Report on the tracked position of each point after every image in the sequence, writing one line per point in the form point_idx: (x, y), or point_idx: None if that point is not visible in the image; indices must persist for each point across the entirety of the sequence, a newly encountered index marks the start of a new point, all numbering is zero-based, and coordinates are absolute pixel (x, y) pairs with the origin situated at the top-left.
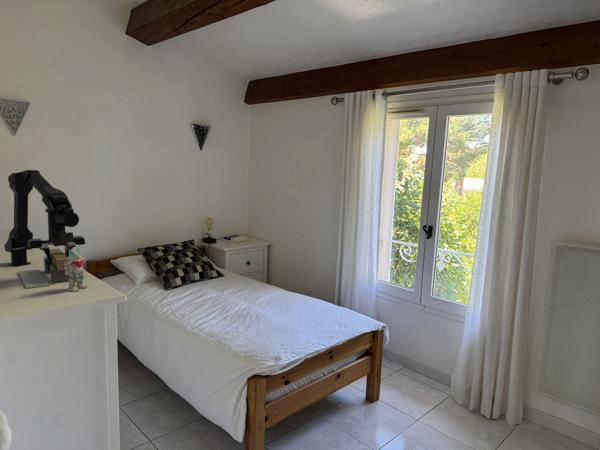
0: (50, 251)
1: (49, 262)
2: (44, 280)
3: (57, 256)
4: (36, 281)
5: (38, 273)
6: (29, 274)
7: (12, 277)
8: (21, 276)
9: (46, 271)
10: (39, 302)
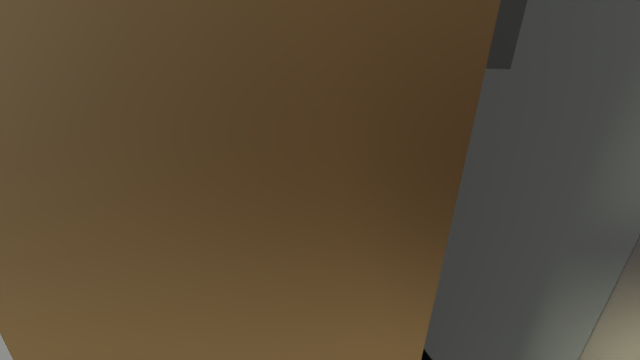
0: None
1: None
2: None
3: (306, 286)
4: (602, 16)
5: (442, 332)
6: (517, 334)
7: (632, 339)
8: (602, 304)
9: None
10: None
